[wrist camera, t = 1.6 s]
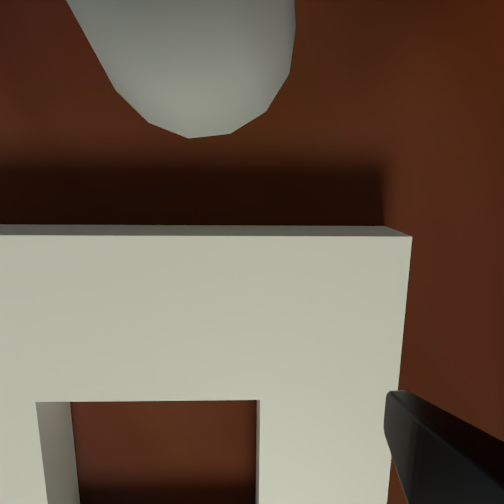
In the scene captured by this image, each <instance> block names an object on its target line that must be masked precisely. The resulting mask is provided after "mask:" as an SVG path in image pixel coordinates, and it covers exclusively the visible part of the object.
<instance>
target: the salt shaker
mask: <svg viewBox="0 0 504 504" xmlns="http://www.w3.org/2000/svg"><path fill="white" fill-rule="evenodd" d="M66 1H67V3H68V4H69V6H70V8H71V10H72V12H73V13H74V15H75V17H76V19H77V21H78V23H79V24H80V26H81V28H82V30H83V32H84V33H85V35H86V37H87V39H88V41H89V43H90V44H91V46H92V48H93V50H94V52H95V54H96V55H97V57H98V59H99V61H100V63H101V64H102V66H103V68H104V70H105V72H106V74H107V75H108V77H109V79H110V81H111V83H112V84H113V86H114V88H115V90H116V91H117V92H118V93H119V94H120V95H121V96H122V97H123V98H124V99H125V100H126V101H127V102H128V103H129V104H130V105H131V106H132V107H133V108H134V109H135V110H136V111H137V112H138V113H139V114H140V115H141V116H142V117H143V118H144V119H145V120H146V121H147V122H149V123H151V124H153V125H156V126H158V127H161V128H163V129H166V130H168V131H171V132H174V133H176V134H179V135H181V136H184V137H186V138H196V137H205V136H214V135H223V134H231V133H232V132H234V131H235V130H237V129H239V128H240V127H242V126H243V125H245V124H247V123H248V122H250V121H251V120H253V119H255V118H256V117H258V116H259V115H261V114H263V113H264V112H266V110H267V109H268V107H269V106H270V104H271V102H272V101H273V99H274V97H275V96H276V94H277V93H278V91H279V89H280V88H281V86H282V84H283V83H284V81H285V80H286V78H287V76H288V75H289V72H290V65H291V58H292V51H293V44H294V36H295V29H296V21H295V6H294V0H66Z"/></svg>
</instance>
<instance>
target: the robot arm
mask: <svg viewBox="0 0 504 504" xmlns="http://www.w3.org/2000/svg"><path fill="white" fill-rule="evenodd" d="M383 427H384V434H385V438H386V441H387V444H388V446H389V449H390V452H391V455H392V458H393V461H394V464H395V467H396V470H397V473H398V476H399V479H400V482H401V485H402V488H403V491H404V494H405V496H406V499H407V502H408V504H504V442H503V441H501V440H499V439H497V438H495V437H493V436H491V435H490V434H488V433H486V432H484V431H482V430H480V429H478V428H476V427H474V426H473V425H471V424H469V423H467V422H465V421H463V420H461V419H459V418H458V417H456V416H454V415H452V414H450V413H448V412H446V411H444V410H442V409H441V408H439V407H437V406H435V405H433V404H431V403H429V402H427V401H425V400H424V399H422V398H420V397H418V396H416V395H414V394H412V393H410V392H409V391H405V390H396V391H389V392H388V393H387V395H386V401H385V412H384V424H383Z"/></svg>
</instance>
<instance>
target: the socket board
mask: <svg viewBox="0 0 504 504" xmlns="http://www.w3.org/2000/svg"><path fill="white" fill-rule="evenodd" d="M411 244H412V236H409V235H407V234H404V233H402V232H399V231H396V230H394V229H391V228H389V227H386V226H259V225H13V224H0V504H80V498H79V488H78V478H77V468H76V458H75V448H74V438H73V428H72V418H71V408H70V402H83V401H188V400H257V429H256V504H387V496H388V485H389V475H390V464H391V452H390V449H389V446H388V444H387V441H386V438H385V434H384V427H383V424H384V412H385V401H386V395H387V393H388V392H389V391H396V390H398V381H399V370H400V360H401V349H402V339H403V328H404V318H405V307H406V297H407V286H408V276H409V265H410V255H411Z"/></svg>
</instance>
